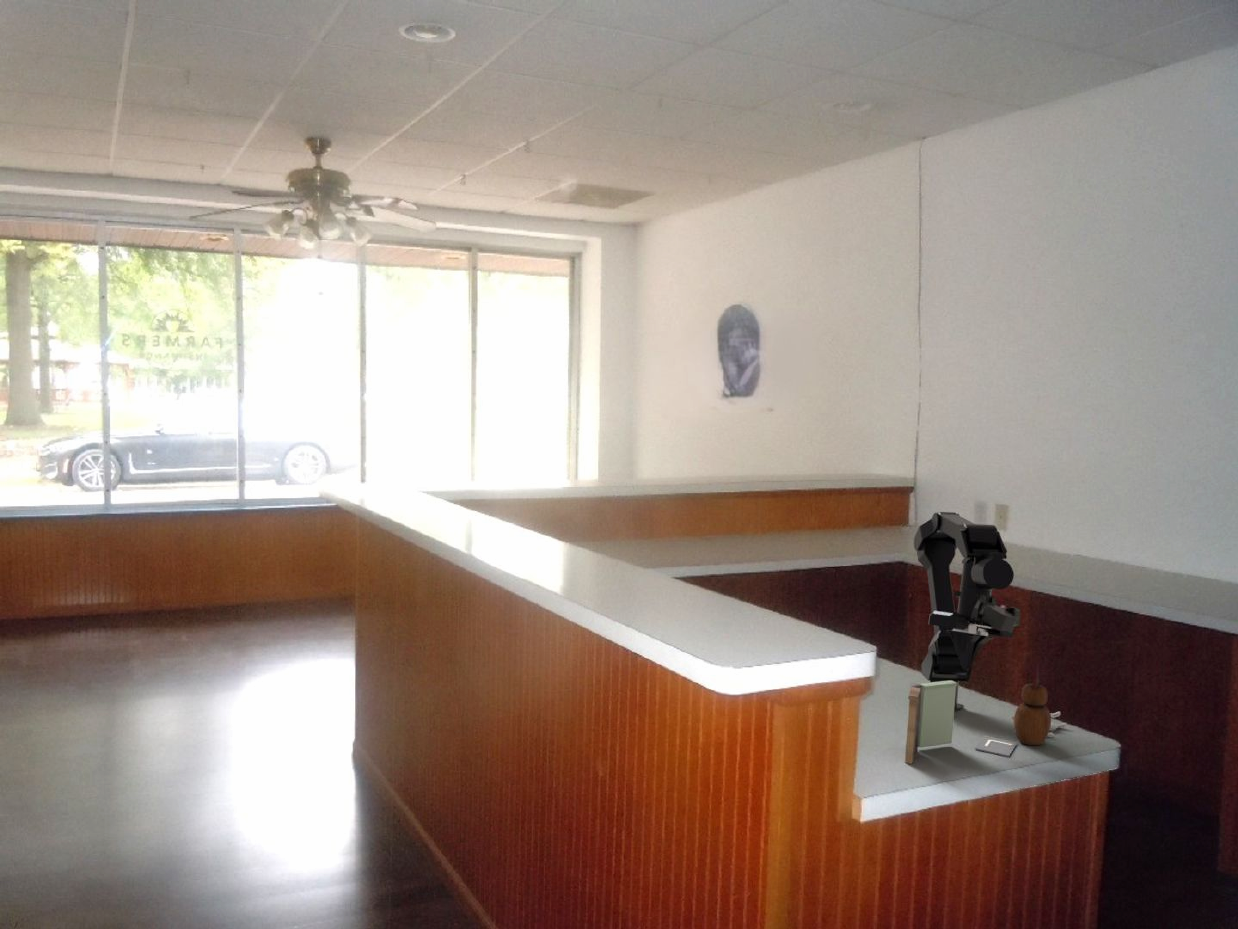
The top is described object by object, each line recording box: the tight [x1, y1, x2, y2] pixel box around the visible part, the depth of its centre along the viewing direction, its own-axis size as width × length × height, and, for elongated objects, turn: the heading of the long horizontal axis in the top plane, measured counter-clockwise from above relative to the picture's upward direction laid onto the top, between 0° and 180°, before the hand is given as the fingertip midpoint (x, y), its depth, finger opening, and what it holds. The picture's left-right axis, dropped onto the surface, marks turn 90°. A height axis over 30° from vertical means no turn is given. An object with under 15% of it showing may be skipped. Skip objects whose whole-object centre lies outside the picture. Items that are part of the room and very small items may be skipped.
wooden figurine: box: [1013, 663, 1052, 746], centre depth 192 cm, size 7×6×15 cm
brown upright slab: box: [904, 682, 922, 765], centre depth 182 cm, size 8×2×12 cm, turn 159°
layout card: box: [974, 735, 1018, 758], centre depth 189 cm, size 8×6×1 cm
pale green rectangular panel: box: [918, 680, 957, 749], centre depth 187 cm, size 8×2×12 cm, turn 114°
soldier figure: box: [1011, 711, 1067, 738], centre depth 199 cm, size 8×5×12 cm
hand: (966, 669), depth 192 cm, fingers closed
